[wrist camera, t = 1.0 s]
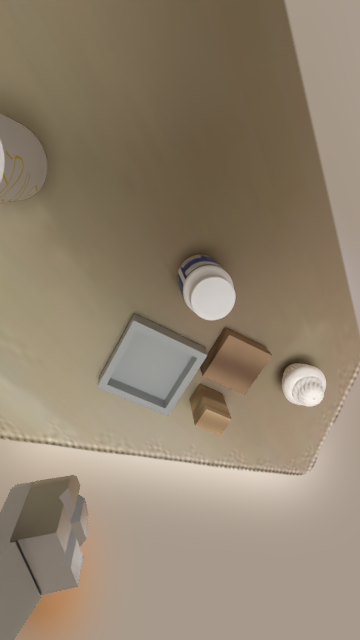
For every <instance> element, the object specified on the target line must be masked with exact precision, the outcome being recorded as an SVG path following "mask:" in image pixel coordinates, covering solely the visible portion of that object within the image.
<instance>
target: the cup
mask: <svg viewBox="0 0 360 640" xmlns="http://www.w3.org/2000/svg"><path fill="white" fill-rule="evenodd" d="M46 176H47V159H46V155H45V152H44V149H43V147H42V145H41V143H40V142H39V140H38V139H37V137H36V136H35V135H34V134H33V133H32V132H31V131H30V130H29V129H28V128H26V127H25V126H23V125H22V124H20V123H18V122H16V121H14V120H12V119H10V118H8V117H6V116H4V115H2V114H0V203H4V202H13V201H21V200H25V199H28V198H30V197H32V196H34V195H35V194H36V193H37V192H38V191H39V190H40V189H41V188H42V186H43V184H44V182H45V179H46Z"/></svg>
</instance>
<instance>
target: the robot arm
mask: <svg viewBox="0 0 360 640" xmlns="http://www.w3.org/2000/svg"><path fill="white" fill-rule="evenodd" d="M79 489H80V484H79V481H78V479H77V476H74V475H71V476H65V477H59V478H52V479H46V480H40V481H35V482H30V483H24V484H17V485H15V486H14V487H13V488H12V489H11V490H10V492H9V495H8V497H7V499H6V501H5V503H4V506H3V508H2V510H1V512H0V640H14V639H15V637H16V636H17V634H18V633H19V631H20V630H21V628H22V626H23V625H24V623H25V622H26V620H27V619H28V617H29V616H30V614H31V613H32V611H33V610H34V608H35V607H36V605H37V604H38V602H39V600H40V599H41V595H44V594H48V593H52V592H57V591H61V590H65V589H70V588H74V587H78V584H79V578H80V572H81V566H82V561H83V556H82V552H81V550H80V546H81V545H82V544H83V542H84V541H85V540H86V537H87V530H88V511H87V505H86V502H85V499H84V498H83V497H82V496H80V495H78V493H79Z"/></svg>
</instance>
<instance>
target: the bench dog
mask: <svg viewBox="0 0 360 640" xmlns="http://www.w3.org/2000/svg"><path fill="white" fill-rule="evenodd" d="M190 403H191V408H192V413H193V418H194V423H195V426H197V427H200V428H202V429H204V430H207V431H209V432H212V433H214V434H217V435H219V436H220V435H221V434H222V432H223V431H224V430H225V428H226V427H227V425H228V424H229V423H230V421H231V420H232V419H231V416H230V413H229V411H228V408H227V405H226V402H225V400H224V397H223V394H222V393H219V392H217V391H215V390H213V389H210V388H208V387H206V386H204V385H201V384H199V386H198V387H197V389H196V390H195V392H194V393H193V395H192V396H191V398H190Z"/></svg>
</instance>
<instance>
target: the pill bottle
mask: <svg viewBox="0 0 360 640" xmlns="http://www.w3.org/2000/svg"><path fill="white" fill-rule="evenodd" d="M177 280H178V284H179V287H180V290H181V292H182V295H183V298H184V301H185V302H186V304H187V305H188V307H189V308H190V309H191V310H192V311H194V312H195V313H196V314H197V315H198V316H199V317H201V318H203V319H206V320H218V319H221V318H223V317H224V316H226V315H227V314H228V313H229V312H230V311H231V310H232V308H233V306H234V304H235V291H234V287H233V282H232V279H231V277H230V276H229V274H228V273H227V272H226V271H225V270H224V269H223V268H222V267H221V266H220V265H219V264H218V263H217V262H216V261H215V260H214V259H213V258H211V257H209V256H207V255H194V256H191V257H189V258H187V259H186V260H185V261H184V262H183V263H182V264H181V266H180V268H179V270H178V275H177Z"/></svg>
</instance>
